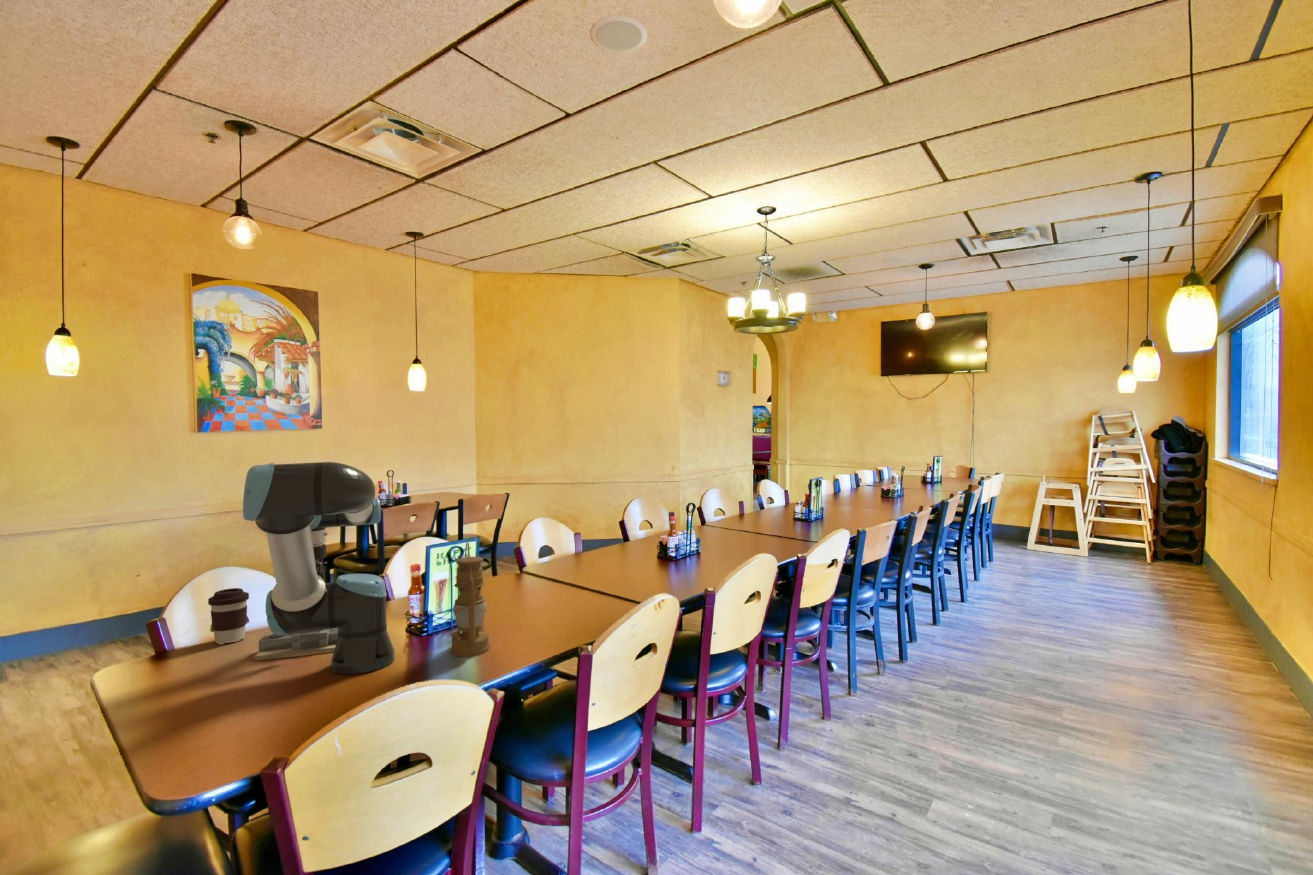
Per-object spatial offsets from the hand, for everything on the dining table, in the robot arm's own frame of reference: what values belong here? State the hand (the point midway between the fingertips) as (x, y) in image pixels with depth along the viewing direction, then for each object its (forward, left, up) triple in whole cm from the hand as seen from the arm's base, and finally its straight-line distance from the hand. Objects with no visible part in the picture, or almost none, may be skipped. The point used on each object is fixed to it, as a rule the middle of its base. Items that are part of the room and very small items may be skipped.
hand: (313, 619), depth 173 cm
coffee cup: (+16, +26, -8) cm, 31 cm away
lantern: (-17, -43, -8) cm, 47 cm away
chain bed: (0, 0, -8) cm, 8 cm away
